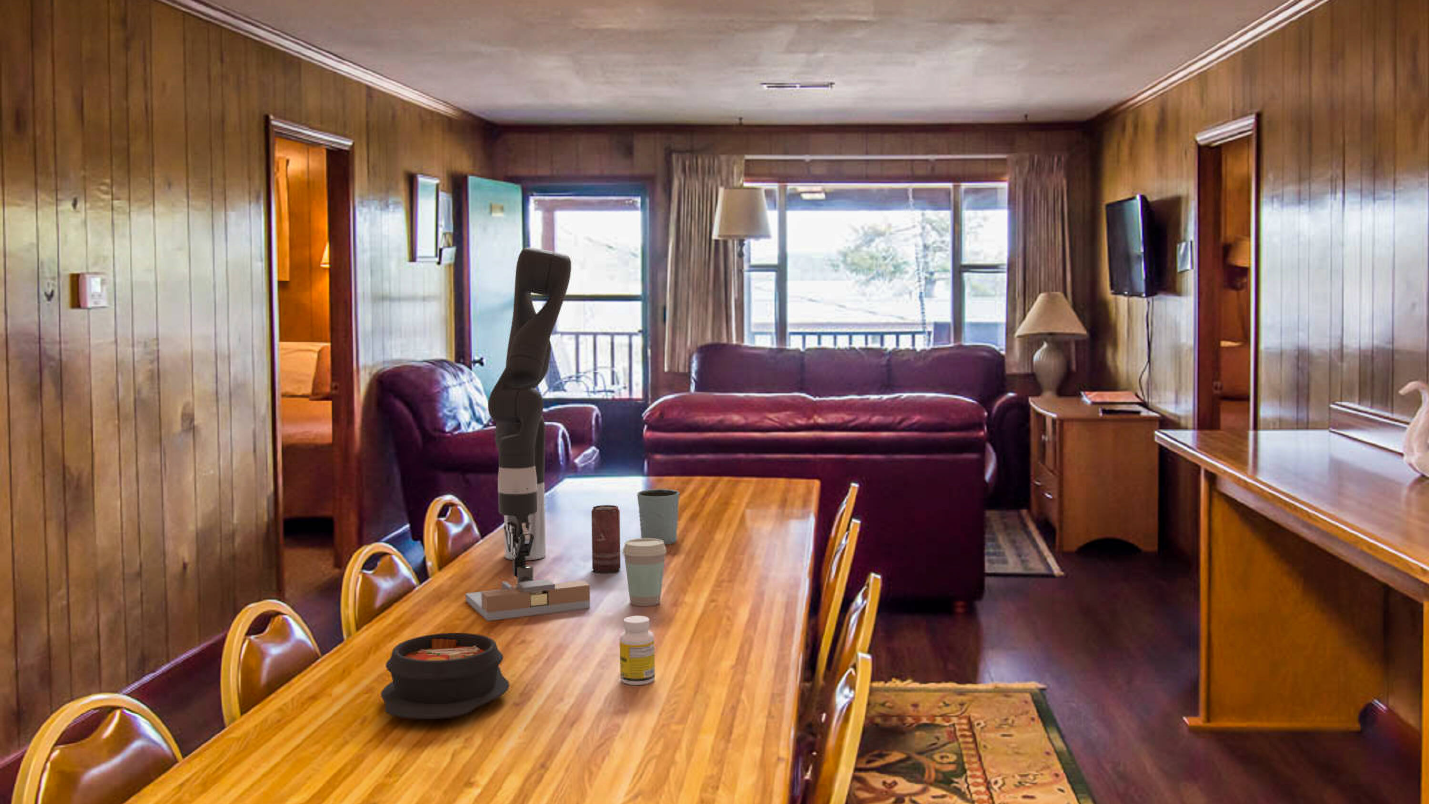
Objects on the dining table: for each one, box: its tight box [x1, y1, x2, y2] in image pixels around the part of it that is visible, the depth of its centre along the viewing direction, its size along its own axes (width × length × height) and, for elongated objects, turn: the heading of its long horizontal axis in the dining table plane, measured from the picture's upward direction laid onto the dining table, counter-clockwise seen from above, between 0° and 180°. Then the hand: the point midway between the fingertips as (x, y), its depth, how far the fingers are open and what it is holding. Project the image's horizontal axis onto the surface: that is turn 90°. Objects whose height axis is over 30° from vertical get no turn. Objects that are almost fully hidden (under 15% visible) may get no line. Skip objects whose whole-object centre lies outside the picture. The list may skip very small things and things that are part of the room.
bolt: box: [514, 564, 547, 606], centre depth 231 cm, size 10×3×6 cm, turn 26°
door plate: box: [465, 578, 591, 622], centre depth 233 cm, size 16×20×6 cm
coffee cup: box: [622, 537, 667, 607], centre depth 234 cm, size 8×8×12 cm
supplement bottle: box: [619, 615, 656, 686], centre depth 187 cm, size 5×5×10 cm
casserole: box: [380, 632, 510, 720], centre depth 178 cm, size 25×19×8 cm
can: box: [591, 504, 621, 574], centre depth 261 cm, size 6×6×14 cm
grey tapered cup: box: [636, 488, 680, 545], centre depth 291 cm, size 10×10×12 cm
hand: (519, 576), depth 237 cm, fingers closed
